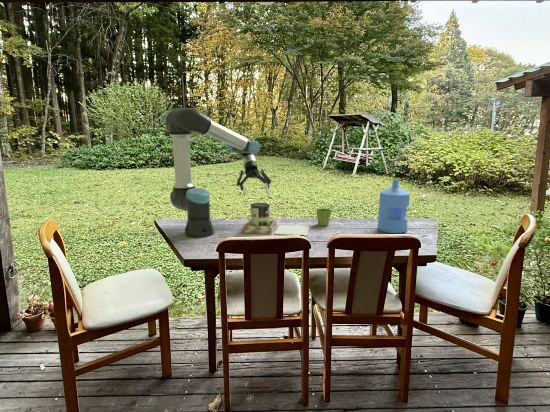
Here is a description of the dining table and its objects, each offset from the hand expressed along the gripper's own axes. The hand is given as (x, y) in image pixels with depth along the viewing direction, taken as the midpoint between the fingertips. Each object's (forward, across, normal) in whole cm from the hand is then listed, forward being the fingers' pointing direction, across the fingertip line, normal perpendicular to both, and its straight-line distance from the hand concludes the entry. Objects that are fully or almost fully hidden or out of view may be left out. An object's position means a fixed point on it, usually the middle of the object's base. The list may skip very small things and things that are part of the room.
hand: (256, 193), depth 219 cm
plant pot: (+21, -37, -5) cm, 43 cm away
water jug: (+35, -70, +8) cm, 78 cm away
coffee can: (+20, +1, -5) cm, 21 cm away
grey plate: (+26, -16, 0) cm, 30 cm away
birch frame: (+20, +1, -5) cm, 21 cm away
